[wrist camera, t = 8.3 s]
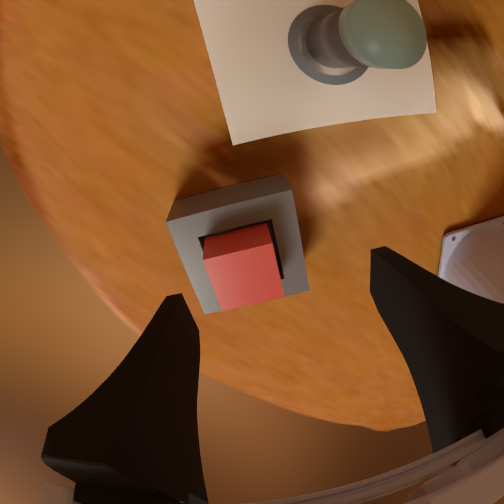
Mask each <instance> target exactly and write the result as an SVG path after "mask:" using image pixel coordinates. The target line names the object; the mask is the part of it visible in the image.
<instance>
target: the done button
mask: <svg viewBox="0 0 504 504" xmlns="http://www.w3.org/2000/svg"><path fill="white" fill-rule="evenodd" d="M203 263H204V265H205V268H206V271H207V273H208V276H209V278H210V281H211V283H212V286H213V288H214V291H215V294H216V296H217V299H218V301H219V304H220V306H221V309H222V311H225V310H230V309H234V308H239V307H243V306H248V305H252V304H257V303H261V302H265V301H270V300H274V299H278V298H282V297H284V292H283V288H282V283H281V279H280V274H279V270H278V265H277V261H276V257H275V252H274V248H273V243H272V240H271V236H270V233H269V229H268V225H267V222H264V223H260V224H255V225H251V226H247V227H243V228H239V229H235V230H231V231H227V232H223V233H219V234H215V235H211V236H207V237H205V240H204V250H203Z"/></svg>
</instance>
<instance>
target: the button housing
mask: <svg viewBox="0 0 504 504" xmlns="http://www.w3.org/2000/svg"><path fill="white" fill-rule="evenodd" d="M264 222H267V225H268V229H269V233H270V236H271V240H272V243H273V248H274V252H275V257H276V261H277V265H278V270H279V274H280V279H281V283H282V288H283V292H284V296H288V295H292V294H296V293H300V292H304V291H308V290H309V286H308V279H307V273H306V266H305V260H304V254H303V248H302V242H301V236H300V230H299V225H298V219H297V213H296V208H295V202H294V197H293V192H292V189H291V187H290V185H289V184H288V182H287V180H286V178H285V177H284V175H283V173H281V174H277V175H272V176H268V177H264V178H260V179H255V180H251V181H247V182H243V183H239V184H235V185H231V186H227V187H224V188H220V189H216V190H212V191H208V192H205V193H201V194H197V195H194V196H190V197H187V198H183V199H180V200H176V201H174V202H173V205H172V207H171V210H170V212H169V215H168V218H167V220H166V223H167V226H168V228H169V231H170V233H171V236H172V238H173V241H174V243H175V246H176V248H177V251H178V253H179V256H180V258H181V260H182V263H183V265H184V267H185V270H186V272H187V274H188V277H189V279H190V281H191V284H192V286H193V288H194V291H195V293H196V295H197V297H198V300H199V302H200V304H201V306H202V309H203V311H204V313H205V314H208V313H213V312H217V311H222V309H221V306H220V304H219V301H218V299H217V296H216V294H215V291H214V288H213V286H212V283H211V281H210V278H209V276H208V273H207V271H206V268H205V265H204V263H203V250H204V240H205V237H207V236H211V235H215V234H219V233H223V232H227V231H231V230H235V229H239V228H243V227H247V226H251V225H255V224H260V223H264Z"/></svg>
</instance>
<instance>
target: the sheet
mask: <svg viewBox="0 0 504 504" xmlns="http://www.w3.org/2000/svg"><path fill="white" fill-rule="evenodd" d="M352 1H354V0H194V4H195V7H196V11H197V14H198V18H199V22H200V25H201V29H202V33H203V36H204V40H205V43H206V47H207V51H208V54H209V58H210V62H211V65H212V69H213V73H214V77H215V80H216V84H217V88H218V91H219V95H220V99H221V102H222V106H223V110H224V114H225V117H226V121H227V125H228V129H229V132H230V136H231V140H232V144H233V145H237V144H241V143H245V142H249V141H253V140H258V139H262V138H266V137H271V136H276V135H280V134H285V133H290V132H295V131H300V130H305V129H311V128H316V127H322V126H328V125H334V124H340V123H346V122H353V121H360V120H368V119H376V118H384V117H393V116H403V115H414V114H426V113H436V102H435V92H434V83H433V75H432V68H431V61H430V55H429V49H428V44H427V46H426V50H425V53H424V55H423V57H422V58H421V59H420V61H419V62H417V63H416V64H415V65H413V66H411V67H409V68H405V69H380V68H372V67H361V68H329V67H325V66H323V65H321V64H319V63H318V62H317V61H315V60H314V59H313V58H312V56H311V55H310V53H309V51H308V49H307V46H306V35H307V32H308V30H309V28H310V27H311V26H312V25H313V24H314V23H315V22H317V21H319V20H321V19H322V18H324V17H326V16H328V15H330V14H332V13H333V12H335V11H337V10H339V9H341V8H343V7H345V6H347V5H348V4H349V3H351V2H352ZM406 1H407V2H408V3H410V4H411V5H412V6H413V7H414V8H415V10H416V11H417V12H418V14H419V15H420V17H421V19H422V15H421V11H420V7H419V3H418V0H406ZM422 21H423V20H422Z"/></svg>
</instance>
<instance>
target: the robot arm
mask: <svg viewBox="0 0 504 504" xmlns="http://www.w3.org/2000/svg"><path fill="white" fill-rule="evenodd" d="M452 237H453V238H452ZM370 293H371V295H372V297H373V300H374V302H375V305H376V307H377V309H378V312H379V314H380V315H381V317H382V319H383V321H384V322H385V324H386V326H387V328H388V329H389V331H390V333H391V335H392V336H393V338H394V340H395V342H396V344H397V345H398V347H399V349H400V351H401V353H402V354H403V356H404V358H405V361H406V363H407V365H408V367H409V370H410V372H411V375H412V378H413V380H414V383H415V386H416V389H417V392H418V395H419V398H420V401H421V404H422V408H423V411H424V415H425V419H426V422H427V426H428V430H429V435H430V440H431V445H432V451H433V454H431V455H429V456H427V457H424V458H422V459H420V460H418V461H415V462H413V463H410V464H408V465H405V466H403V467H400V468H397V469H395V470H392V471H389V472H387V473H384V474H381V475H378V476H375V477H372V478H369V479H366V480H362V481H359V482H356V483H352V484H349V485H345V486H342V487H338V488H334V489H330V490H325V491H321V492H317V493H312V494H307V495H302V496H296V497H291V498H285V499H278V500H271V501H263V502H255V503H244V504H360V503H363V502H367V501H370V500H373V499H376V498H379V497H382V496H385V495H388V494H391V493H393V492H396V491H399V490H401V489H404V488H406V487H409V486H411V485H414V484H416V483H418V482H421V481H423V480H425V479H427V478H430V477H432V476H434V475H436V474H438V473H440V472H442V471H444V470H446V469H448V468H450V467H452V466H453V467H452V468H451V469H449V470H447V471H446V472H444V473H442V474H441V475H438V476H437V477H435V478H433V479H431V480H429V481H427V482H425V483H423V485H422V487H421V488H419V489H418V490H417V491H415V492H413V493H412V494H410V495H409V496H408V498H409V502H408V503H405V504H493V503H495V502H496V501H497V500H499V499H500V498H501V497H503V496H504V216H502V217H498V218H495V219H492V220H489V221H485V222H482V223H479V224H475V225H472V226H469V227H465V228H462V229H459V230H455V231H452V232H448V233H446V234H445V235H444V237H443V243H442V251H441V258H440V265H439V271H438V276H436V275H434V274H432V273H431V272H429V271H427V270H425V269H424V268H422V267H420V266H418V265H417V264H415V263H413V262H412V261H410V260H408V259H407V258H405V257H403V256H402V255H400V254H398V253H397V252H395V251H393V250H391V249H390V248H388V247H386V246H383V247H379V248H376V249H372V250H371V271H370ZM199 365H200V338H199V329H198V327H197V325H196V323H195V321H194V319H193V317H192V315H191V313H190V310H189V308H188V306H187V304H186V302H185V300H184V297H183V295H182V293H180V294H175V295H170V296H167V297H166V298H165V299H164V301H163V302H162V304H161V305H160V307H159V309H158V310H157V312H156V313H155V315H154V316H153V318H152V320H151V321H150V323H149V324H148V326H147V327H146V329H145V330H144V332H143V333H142V335H141V336H140V338H139V339H138V340H137V342H136V343H135V345H134V346H133V348H132V349H131V350H130V352H129V353H128V354H127V356H126V357H125V358H124V360H123V361H122V362H121V363H120V365H119V366H118V367H117V368H116V369H115V370H114V372H113V373H112V374H111V375H110V376H109V377H108V379H107V380H105V381H104V382H103V383H102V384H101V385H100V386H99V387H98V389H96V390H95V391H94V392H93V394H91V395H90V396H89V397H88V398H87V399H86V400H85V401H84V402H82V403H81V404H80V405H79V406H78V407H76V408H75V409H74V410H73V411H71V412H70V413H69V414H67V415H66V416H65V417H63V418H62V419H60V420H59V421H58V422H56V423H55V424H53V425H52V426H50V427H49V428H48V432H47V435H46V439H45V443H44V447H43V451H42V455H41V458H42V460H43V462H44V463H45V464H46V465H47V466H48V467H50V468H51V469H53V470H55V471H56V472H58V473H60V474H61V475H63V476H65V477H67V478H69V479H70V480H72V481H74V482H76V485H75V489H74V488H71V487H68V486H64V485H60V484H56V483H52V482H49V481H46V482H45V485H44V491H43V496H42V503H41V504H208V498H207V493H206V488H205V483H204V478H203V471H202V464H201V457H200V448H199V438H198V426H197V393H198V379H199Z"/></svg>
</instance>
